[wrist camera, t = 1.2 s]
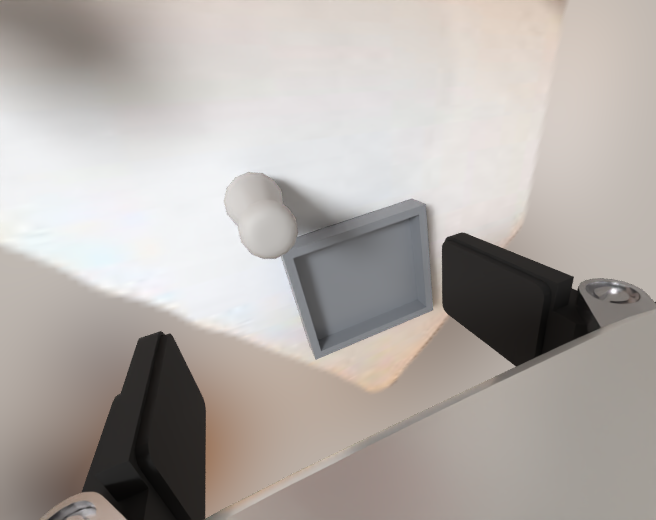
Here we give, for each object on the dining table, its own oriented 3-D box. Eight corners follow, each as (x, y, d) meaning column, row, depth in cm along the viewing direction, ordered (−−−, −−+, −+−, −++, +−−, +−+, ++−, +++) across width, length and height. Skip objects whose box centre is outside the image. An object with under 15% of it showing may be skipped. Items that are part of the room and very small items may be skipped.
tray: (411, 198, 40) (425, 204, 37) (420, 299, 47) (433, 310, 44) (276, 243, 36) (281, 253, 34) (309, 345, 43) (315, 359, 41)
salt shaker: (280, 171, 33) (315, 196, 22) (278, 223, 35) (308, 270, 24) (222, 167, 31) (227, 192, 20) (223, 222, 33) (229, 273, 22)
